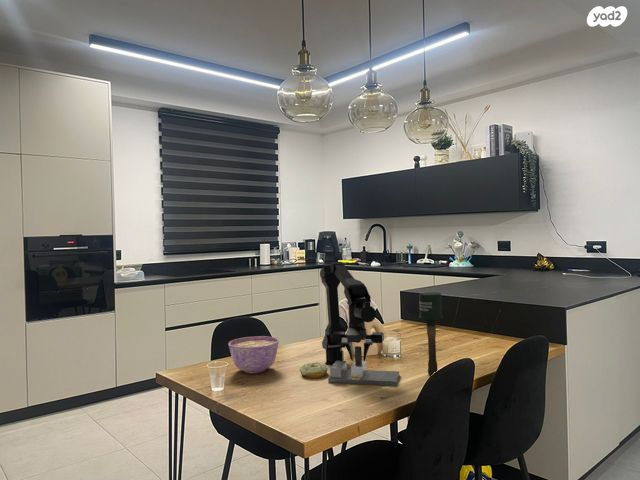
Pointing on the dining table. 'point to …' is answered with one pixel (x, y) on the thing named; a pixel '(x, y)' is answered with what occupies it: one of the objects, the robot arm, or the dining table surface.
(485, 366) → the dining table surface
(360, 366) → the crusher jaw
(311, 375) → the decorated donut
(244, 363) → the bowl of food
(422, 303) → the stick grenade
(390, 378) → the base
